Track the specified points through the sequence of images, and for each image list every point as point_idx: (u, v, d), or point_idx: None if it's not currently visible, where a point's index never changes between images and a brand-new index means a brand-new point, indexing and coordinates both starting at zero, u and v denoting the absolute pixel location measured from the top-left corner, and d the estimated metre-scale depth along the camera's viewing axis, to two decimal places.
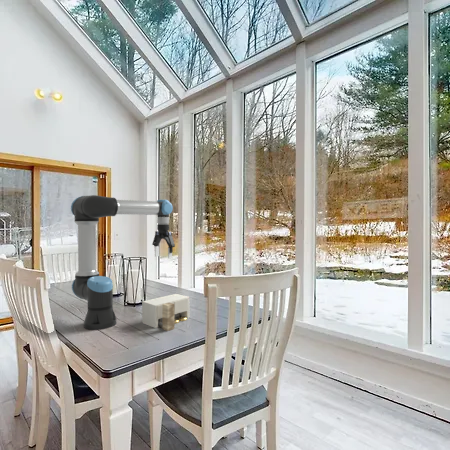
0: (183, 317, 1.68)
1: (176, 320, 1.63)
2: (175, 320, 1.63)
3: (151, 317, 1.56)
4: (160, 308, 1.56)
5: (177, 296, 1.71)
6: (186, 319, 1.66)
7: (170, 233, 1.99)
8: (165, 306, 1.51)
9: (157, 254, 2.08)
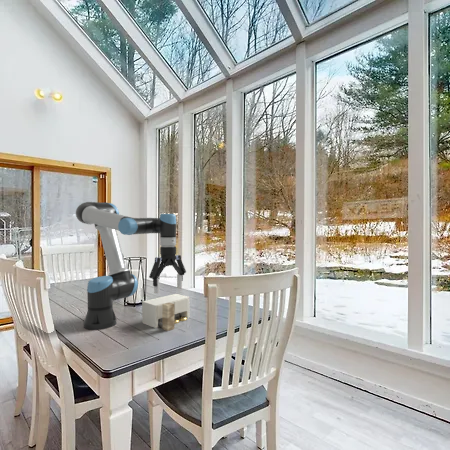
0: (183, 317, 1.68)
1: (176, 320, 1.63)
2: (175, 320, 1.63)
3: (151, 317, 1.56)
4: (160, 308, 1.56)
5: (177, 296, 1.71)
6: (186, 319, 1.66)
7: (156, 259, 1.47)
8: (165, 306, 1.51)
9: (179, 285, 1.57)
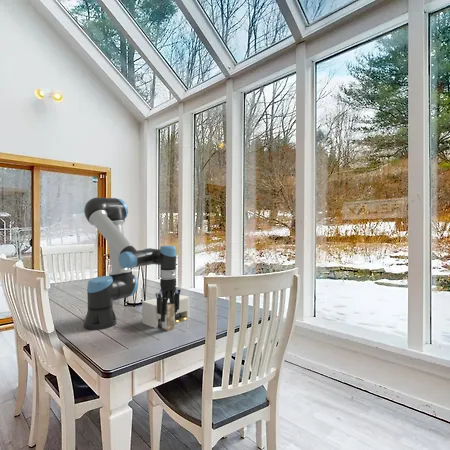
0: (183, 317, 1.68)
1: (176, 320, 1.63)
2: (175, 320, 1.63)
3: (151, 317, 1.56)
4: None
5: None
6: (186, 319, 1.66)
7: (157, 296, 1.47)
8: None
9: None
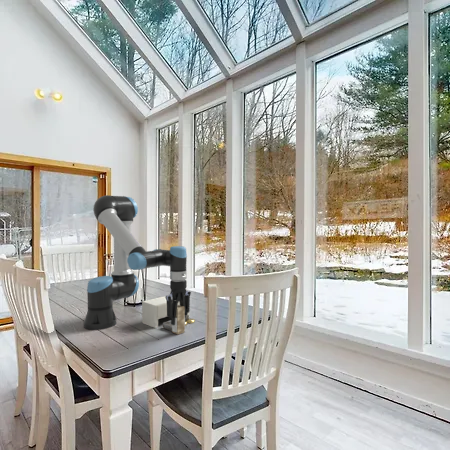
0: (190, 319, 1.64)
1: None
2: None
3: (151, 317, 1.56)
4: (160, 308, 1.56)
5: None
6: (194, 321, 1.62)
7: (167, 299, 1.42)
8: None
9: None
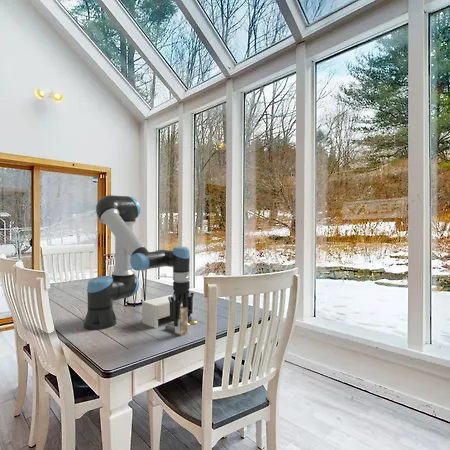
0: (193, 320, 1.63)
1: None
2: None
3: (151, 317, 1.56)
4: (160, 308, 1.56)
5: None
6: (197, 322, 1.61)
7: (170, 300, 1.41)
8: None
9: None
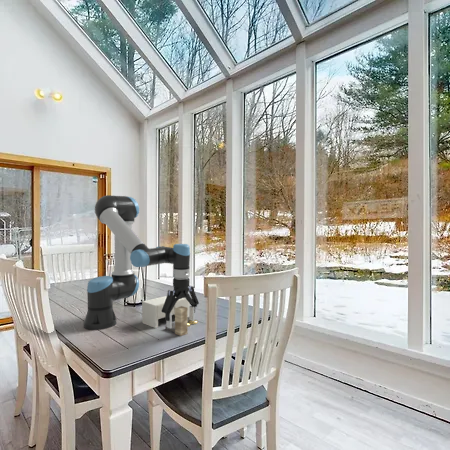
0: None
1: (187, 323, 1.58)
2: None
3: (151, 317, 1.56)
4: (160, 308, 1.56)
5: None
6: (197, 322, 1.61)
7: (169, 293, 1.41)
8: (178, 310, 1.45)
9: (191, 317, 1.51)
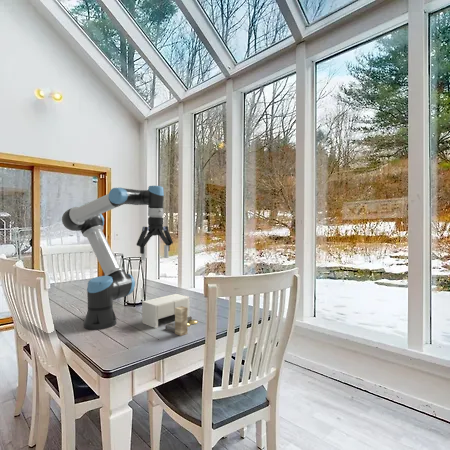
0: (193, 320, 1.62)
1: (187, 323, 1.58)
2: None
3: (151, 317, 1.56)
4: (160, 308, 1.56)
5: (177, 296, 1.71)
6: (197, 322, 1.61)
7: (144, 228, 1.55)
8: (178, 310, 1.45)
9: (165, 255, 1.65)
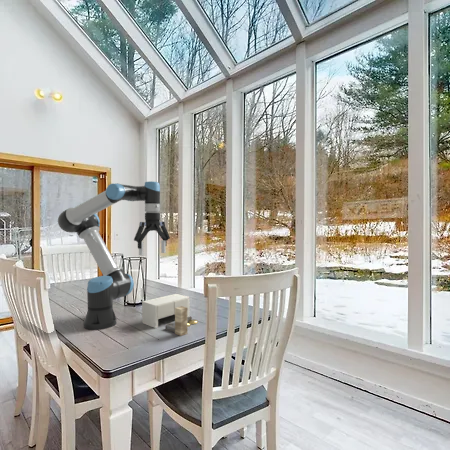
0: (193, 320, 1.62)
1: (187, 323, 1.58)
2: None
3: (151, 317, 1.56)
4: (160, 308, 1.56)
5: (177, 296, 1.71)
6: (197, 322, 1.61)
7: (141, 224, 1.57)
8: (178, 310, 1.45)
9: (163, 250, 1.67)
